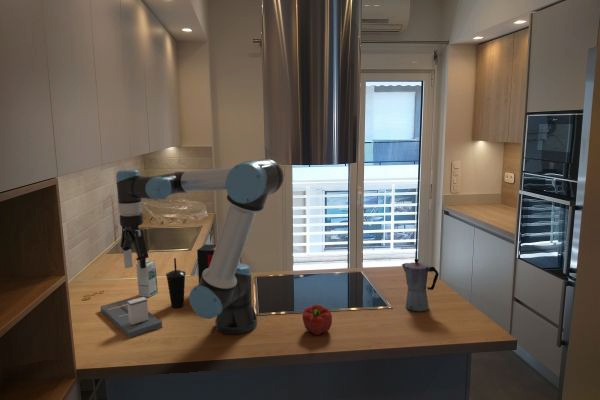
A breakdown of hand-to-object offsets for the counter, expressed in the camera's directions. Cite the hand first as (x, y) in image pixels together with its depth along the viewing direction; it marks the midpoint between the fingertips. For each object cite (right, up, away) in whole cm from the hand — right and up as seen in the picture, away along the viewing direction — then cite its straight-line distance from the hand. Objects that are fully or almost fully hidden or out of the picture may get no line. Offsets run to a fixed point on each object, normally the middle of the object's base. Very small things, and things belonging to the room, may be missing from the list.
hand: (135, 271), depth 157 cm
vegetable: (+65, -21, -3) cm, 69 cm away
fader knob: (0, -18, +2) cm, 18 cm away
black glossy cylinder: (+9, -17, +21) cm, 29 cm away
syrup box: (-7, -15, +33) cm, 37 cm away
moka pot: (+106, -17, +17) cm, 109 cm away
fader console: (-6, -19, +9) cm, 22 cm away
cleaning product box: (+24, -15, +36) cm, 46 cm away
